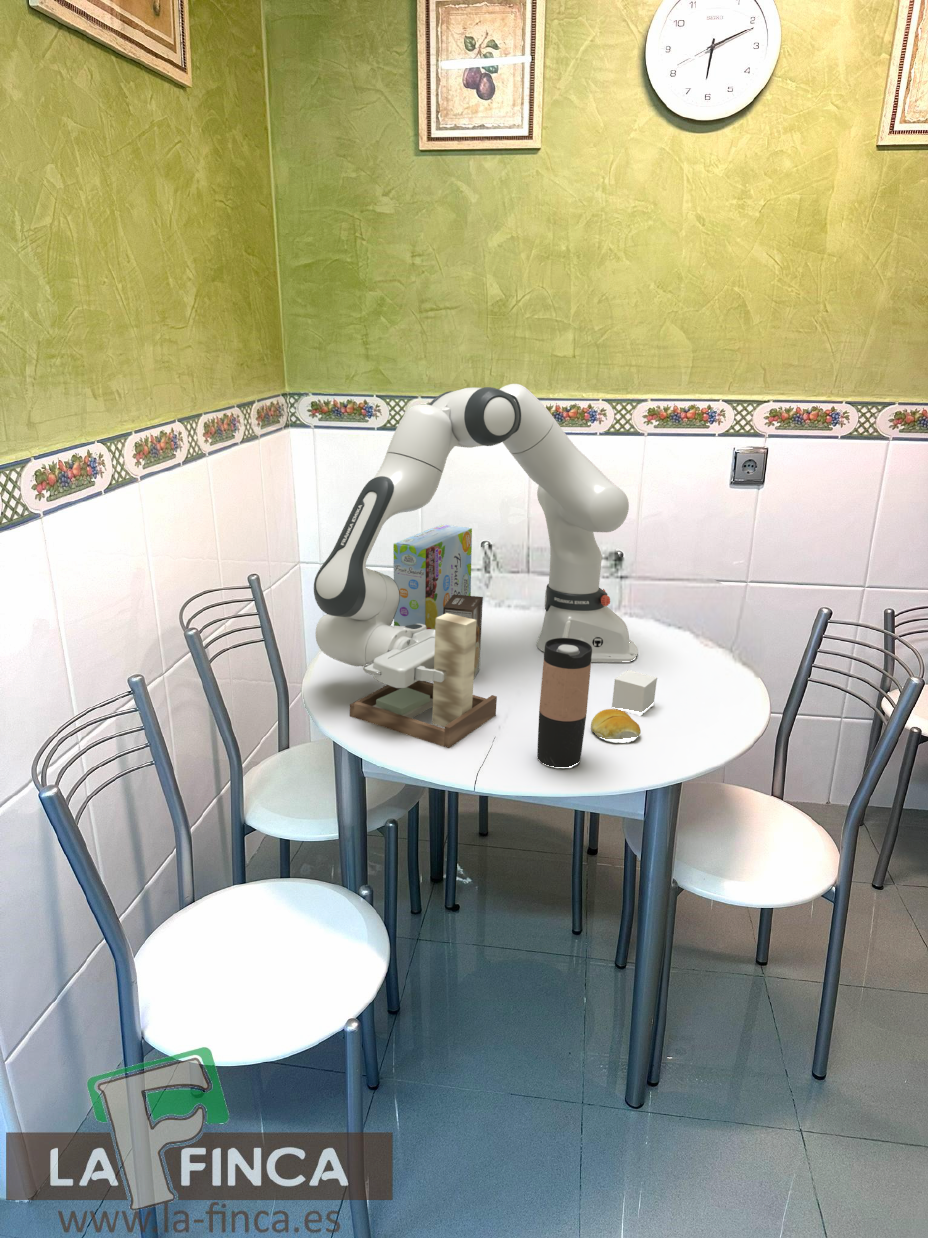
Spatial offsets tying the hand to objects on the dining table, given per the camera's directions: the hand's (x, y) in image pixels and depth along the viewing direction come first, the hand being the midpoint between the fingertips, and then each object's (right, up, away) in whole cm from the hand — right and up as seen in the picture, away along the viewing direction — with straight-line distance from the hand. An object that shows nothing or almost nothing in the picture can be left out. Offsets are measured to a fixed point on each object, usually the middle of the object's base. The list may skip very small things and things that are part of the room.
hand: (458, 669), depth 146 cm
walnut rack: (-6, -9, +7) cm, 13 cm away
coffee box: (0, -3, +26) cm, 26 cm away
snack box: (-6, +2, +41) cm, 41 cm away
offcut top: (-10, -7, +9) cm, 15 cm away
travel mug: (+17, -15, -6) cm, 23 cm away
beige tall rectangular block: (-1, -10, +4) cm, 11 cm away
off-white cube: (+33, -8, +15) cm, 37 cm away
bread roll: (+28, -12, +4) cm, 31 cm away
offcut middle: (-10, -8, +9) cm, 16 cm away
